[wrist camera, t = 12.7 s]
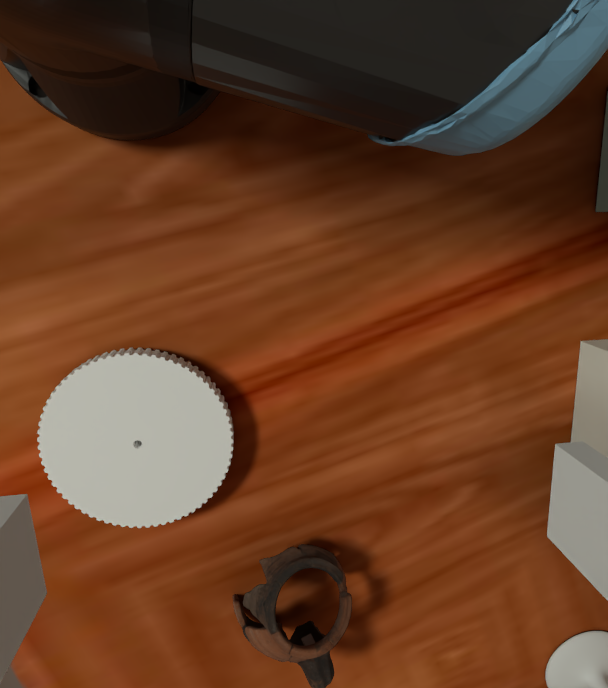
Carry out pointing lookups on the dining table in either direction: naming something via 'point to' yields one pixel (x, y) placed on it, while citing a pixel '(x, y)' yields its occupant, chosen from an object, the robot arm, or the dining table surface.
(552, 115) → the dining table surface
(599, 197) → the retro monitor box
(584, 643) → the wineglass
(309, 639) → the brown hollow ring
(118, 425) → the plastic lid
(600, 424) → the cream rectangular block
